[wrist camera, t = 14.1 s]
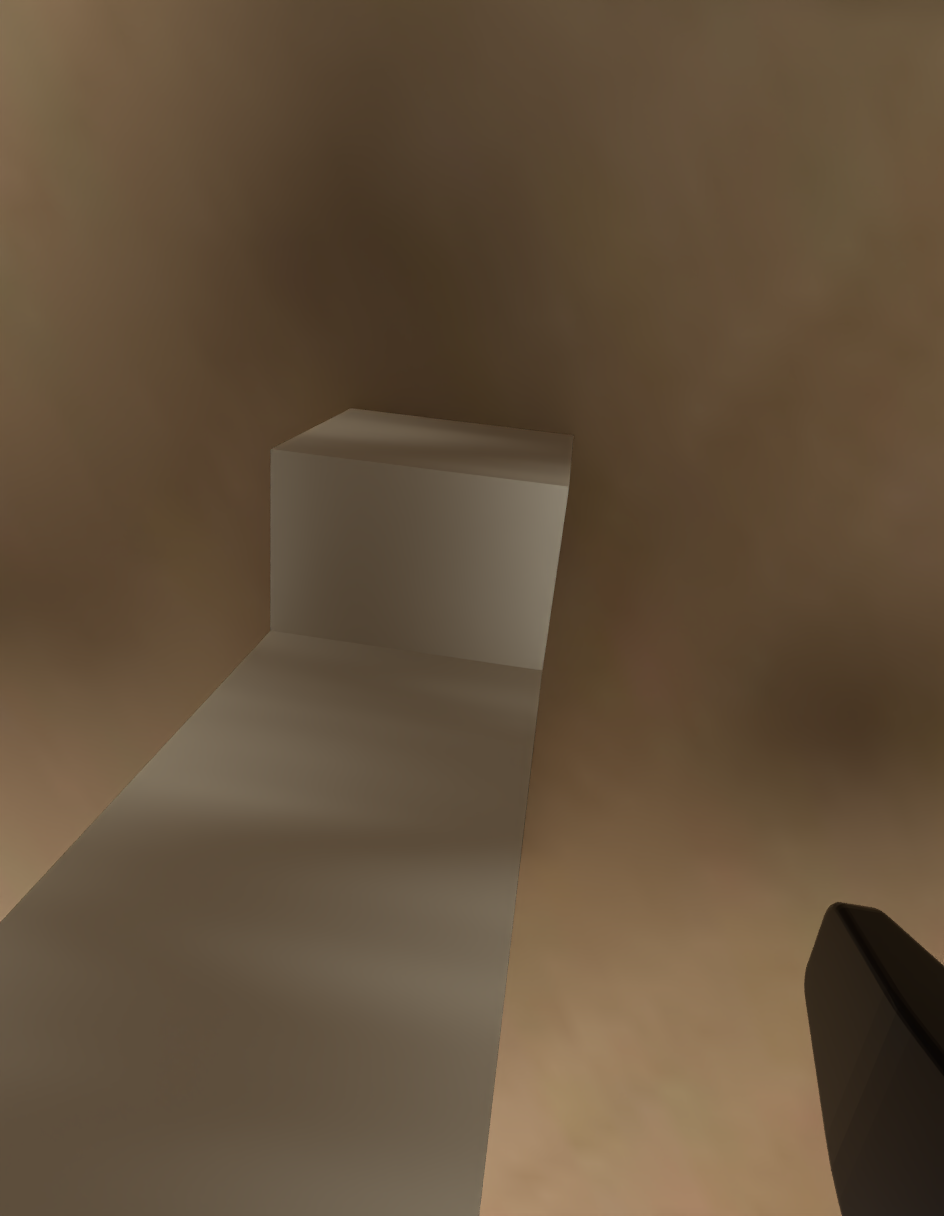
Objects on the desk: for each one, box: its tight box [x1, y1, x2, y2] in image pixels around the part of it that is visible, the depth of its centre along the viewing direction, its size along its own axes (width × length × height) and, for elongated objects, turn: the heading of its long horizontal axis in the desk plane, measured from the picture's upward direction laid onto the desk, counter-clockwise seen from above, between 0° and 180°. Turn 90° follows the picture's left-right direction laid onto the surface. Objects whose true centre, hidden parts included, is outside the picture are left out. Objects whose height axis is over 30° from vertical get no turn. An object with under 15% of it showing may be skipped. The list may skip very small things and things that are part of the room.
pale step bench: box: [0, 408, 574, 1216], centre depth 8 cm, size 3×7×9 cm, turn 175°
